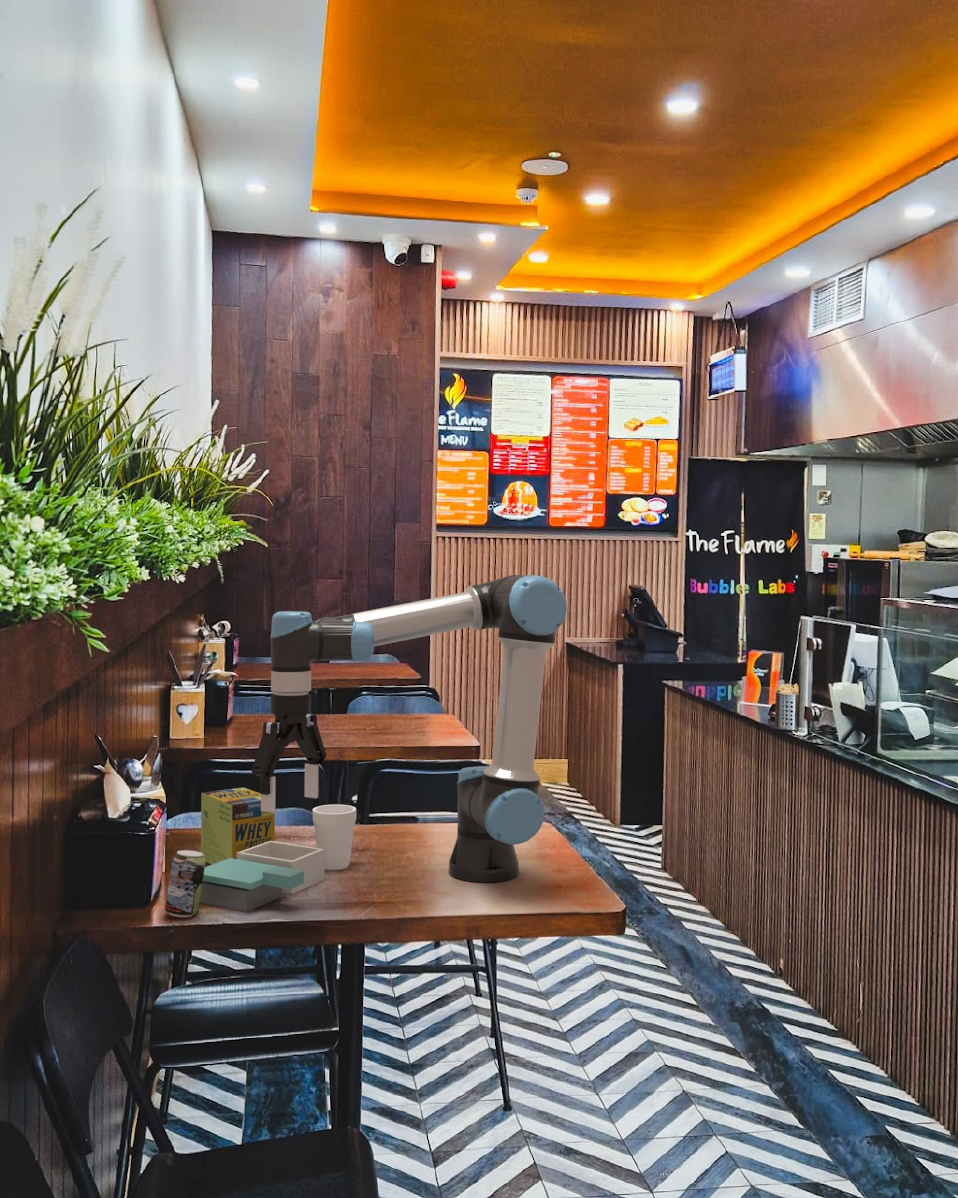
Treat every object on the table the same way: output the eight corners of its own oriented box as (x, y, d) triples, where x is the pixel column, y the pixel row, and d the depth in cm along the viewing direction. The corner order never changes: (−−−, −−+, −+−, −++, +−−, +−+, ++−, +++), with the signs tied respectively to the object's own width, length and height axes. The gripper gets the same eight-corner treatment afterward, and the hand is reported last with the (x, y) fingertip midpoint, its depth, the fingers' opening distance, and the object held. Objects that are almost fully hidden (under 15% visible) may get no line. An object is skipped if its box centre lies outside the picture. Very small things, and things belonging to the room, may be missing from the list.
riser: (282, 899, 209) (282, 876, 209) (246, 915, 199) (246, 891, 199) (234, 890, 214) (234, 868, 214) (196, 905, 204) (197, 882, 204)
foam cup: (347, 876, 225) (347, 815, 224) (306, 873, 227) (306, 813, 226) (361, 864, 234) (361, 805, 234) (321, 861, 236) (321, 803, 236)
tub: (324, 882, 220) (324, 849, 220) (292, 897, 210) (292, 862, 210) (269, 873, 226) (270, 840, 226) (236, 886, 216) (236, 852, 216)
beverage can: (159, 915, 198) (159, 852, 198) (194, 907, 203) (194, 845, 203) (175, 923, 194) (175, 858, 193) (211, 915, 199) (211, 851, 199)
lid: (314, 881, 206) (314, 866, 206) (278, 897, 195) (278, 881, 195) (230, 866, 215) (230, 852, 215) (190, 881, 204) (190, 866, 204)
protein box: (231, 877, 223) (231, 804, 222) (199, 861, 235) (200, 792, 234) (275, 869, 229) (276, 798, 229) (243, 854, 241) (243, 786, 241)
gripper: (313, 685, 213) (312, 790, 214) (232, 698, 191) (231, 815, 191) (344, 687, 210) (343, 793, 210) (265, 701, 187) (265, 820, 188)
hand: (290, 804), depth 201 cm, fingers open, 13 cm apart
